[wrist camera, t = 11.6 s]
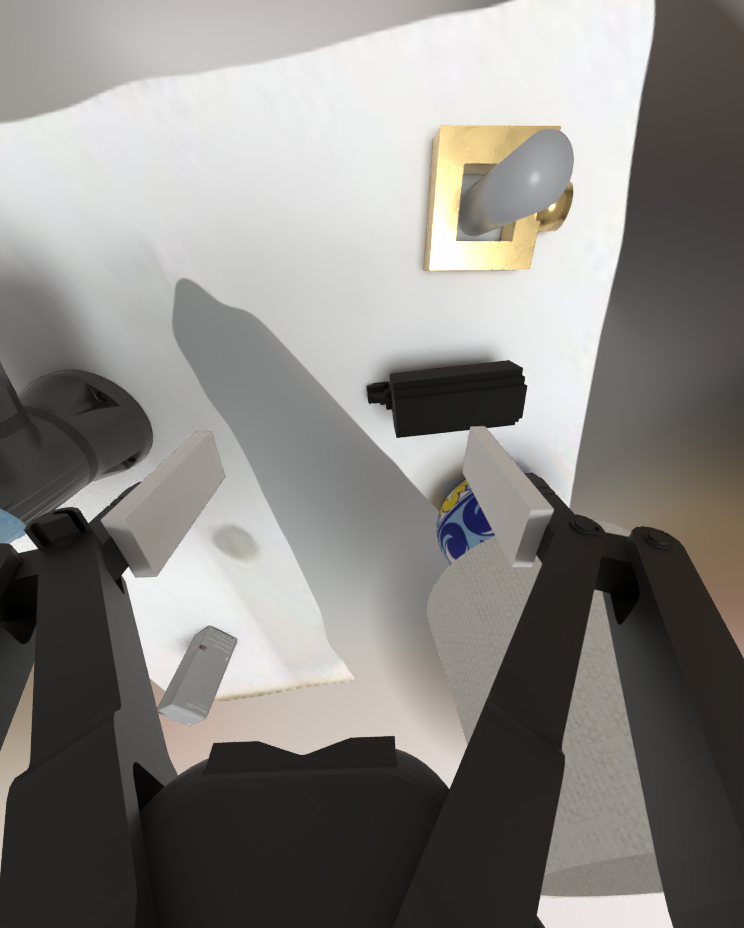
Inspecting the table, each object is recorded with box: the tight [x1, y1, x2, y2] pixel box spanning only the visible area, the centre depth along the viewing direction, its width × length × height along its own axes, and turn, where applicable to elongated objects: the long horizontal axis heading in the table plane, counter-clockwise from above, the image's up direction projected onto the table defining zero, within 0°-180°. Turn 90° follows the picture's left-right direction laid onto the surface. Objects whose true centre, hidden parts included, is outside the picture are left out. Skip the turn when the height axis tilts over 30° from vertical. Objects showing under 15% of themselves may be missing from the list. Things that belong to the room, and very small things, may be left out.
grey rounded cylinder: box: [458, 129, 574, 236], centre depth 28 cm, size 4×4×14 cm
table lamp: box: [427, 479, 664, 898], centre depth 38 cm, size 27×27×40 cm
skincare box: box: [157, 626, 237, 726], centre depth 67 cm, size 8×7×16 cm
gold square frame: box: [424, 126, 573, 271], centre depth 32 cm, size 14×11×4 cm
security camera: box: [367, 360, 527, 438], centre depth 39 cm, size 7×18×10 cm, turn 96°
